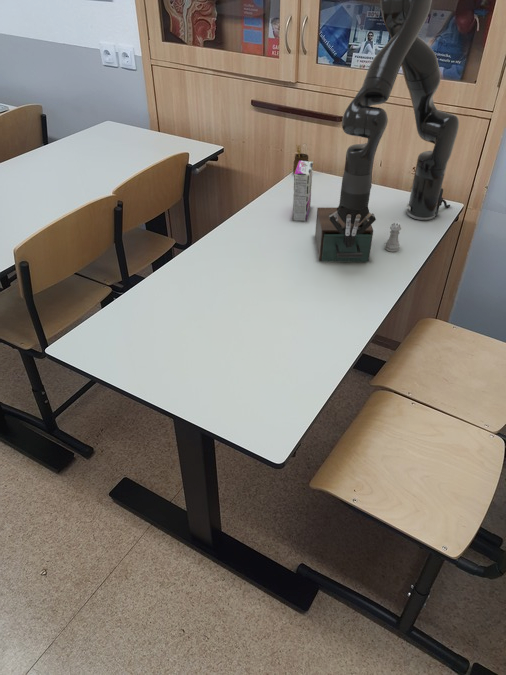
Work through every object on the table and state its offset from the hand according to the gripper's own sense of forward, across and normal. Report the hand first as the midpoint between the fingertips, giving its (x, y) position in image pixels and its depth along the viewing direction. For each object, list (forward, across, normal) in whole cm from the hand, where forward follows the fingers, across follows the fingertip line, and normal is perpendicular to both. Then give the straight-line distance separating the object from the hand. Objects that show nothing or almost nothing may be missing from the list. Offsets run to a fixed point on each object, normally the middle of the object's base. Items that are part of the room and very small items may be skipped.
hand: (348, 246), depth 149 cm
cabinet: (+8, 0, -12) cm, 14 cm away
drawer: (+7, 0, -7) cm, 9 cm away
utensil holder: (+8, +9, -70) cm, 71 cm away
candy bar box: (+8, +10, -35) cm, 37 cm away
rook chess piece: (+8, -16, -12) cm, 21 cm away
